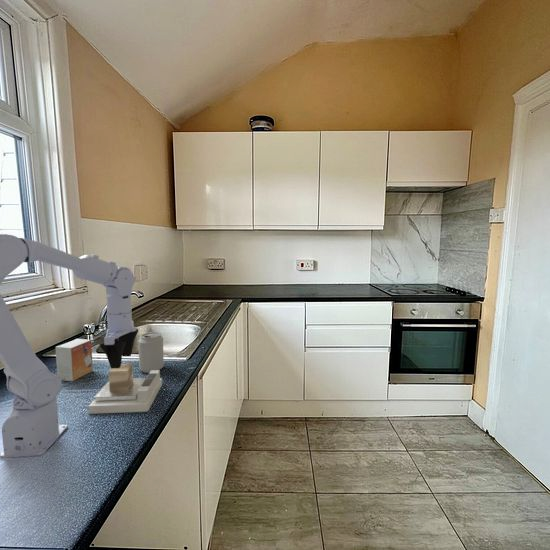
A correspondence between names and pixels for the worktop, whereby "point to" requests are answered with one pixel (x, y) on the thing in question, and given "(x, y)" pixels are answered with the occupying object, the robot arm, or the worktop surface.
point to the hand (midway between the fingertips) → (121, 361)
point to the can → (150, 352)
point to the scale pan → (119, 392)
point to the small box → (74, 359)
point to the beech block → (121, 378)
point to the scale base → (139, 404)
